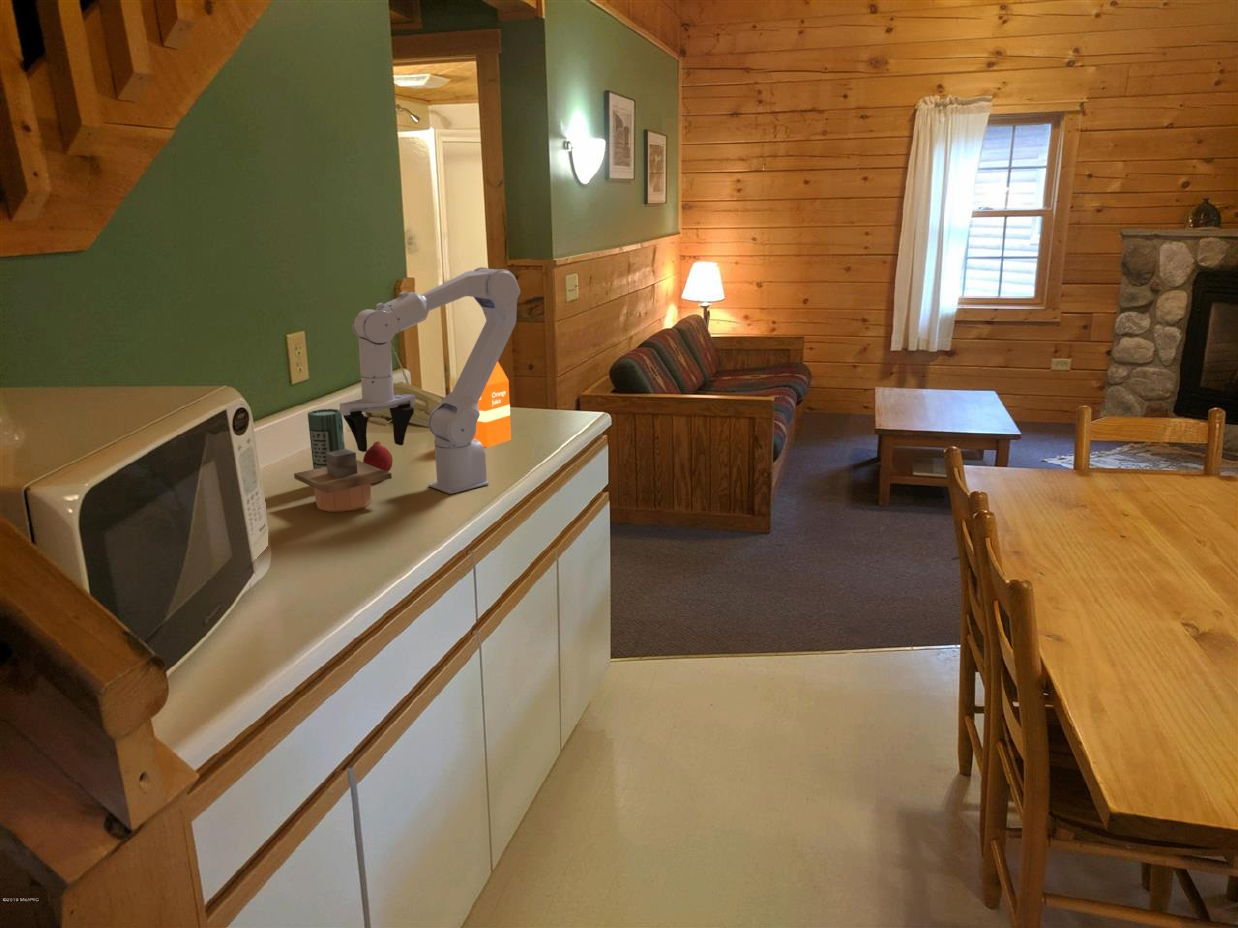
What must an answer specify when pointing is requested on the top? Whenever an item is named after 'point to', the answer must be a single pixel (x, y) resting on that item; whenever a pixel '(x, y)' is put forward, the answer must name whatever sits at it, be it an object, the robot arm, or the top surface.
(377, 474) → the lid
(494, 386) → the orange juice
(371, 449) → the onion
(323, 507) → the pot
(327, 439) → the can
